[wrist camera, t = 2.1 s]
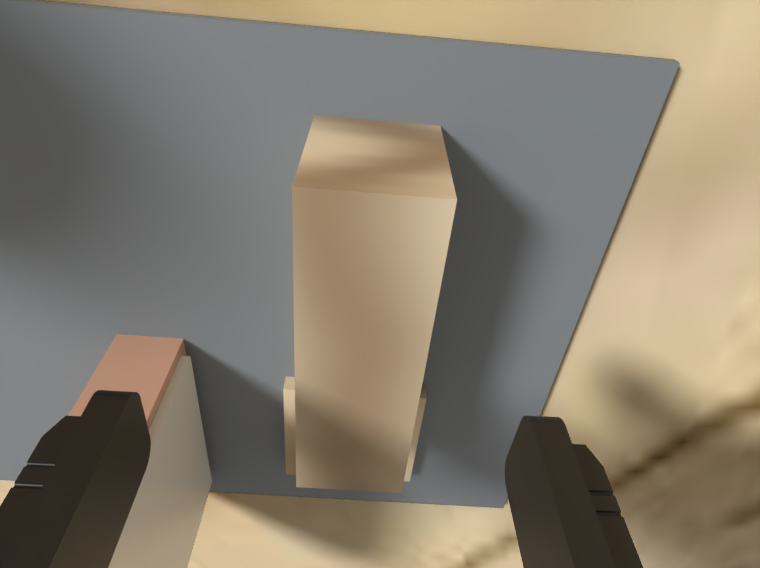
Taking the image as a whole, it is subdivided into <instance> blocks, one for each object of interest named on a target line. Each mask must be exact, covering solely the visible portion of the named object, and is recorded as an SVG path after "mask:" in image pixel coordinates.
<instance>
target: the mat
mask: <svg viewBox="0 0 760 568" xmlns="http://www.w3.org/2000/svg"><path fill="white" fill-rule="evenodd" d="M679 64H680V63H679V62H678V61H676V60H674V59H664V58H653V57H642V56H632V55H621V54H610V53H599V52H589V51H578V50H567V49H556V48H546V47H535V46H524V45H514V44H503V43H492V42H481V41H471V40H460V39H449V38H438V37H428V36H417V35H406V34H396V33H385V32H374V31H363V30H353V29H342V28H331V27H320V26H310V25H299V24H288V23H278V22H267V21H256V20H245V19H235V18H224V17H213V16H202V15H192V14H181V13H170V12H160V11H149V10H138V9H127V8H117V7H106V6H95V5H84V4H74V3H63V2H52V1H42V0H0V480H11V481H16V479H17V478H18V476H19V474H20V472H21V471H22V469H23V467H26V465H27V461H28V459H29V457H30V456H31V454H32V452H33V451H34V449H35V447H36V446H37V444H38V442H39V441H40V439H41V437H42V436H43V435H44V434H45V433H46V432H48V431H49V430H50V429H51V428H52V427H53V426H54V425H55V424H57V423H58V422H59V421H60V420H61V419H62V418H63V417H65V416H68V415H69V413H70V411H71V410H72V408H73V406H74V405H75V403H76V401H77V400H78V398H79V396H80V395H81V393H82V391H83V390H84V388H85V386H86V385H87V383H88V381H89V380H90V378H91V376H92V375H93V373H94V371H95V370H96V368H97V366H98V365H99V363H100V361H101V360H102V358H103V356H104V355H105V353H106V351H107V350H108V348H109V346H110V345H111V343H112V341H113V340H114V338H115V336H116V335H117V334H122V335H137V336H152V337H167V338H181V339H184V345H185V351H186V356H190V357H191V362H192V368H193V374H194V380H195V386H196V391H197V397H198V403H199V409H200V414H201V420H202V426H203V432H204V438H205V443H206V449H207V455H208V461H209V467H210V472H211V478H212V484H211V487H210V490H209V492H225V493H243V494H261V495H279V496H297V497H314V498H332V499H350V500H368V501H386V502H404V503H421V504H439V505H457V506H475V507H493V508H503V507H504V505H505V502H506V500H507V497H508V494H507V490H506V484H505V462H506V458H507V455H508V452H509V450H510V447H511V445H512V442H513V439H514V437H515V434H516V432H517V429H518V427H519V424H520V422H521V419H522V418H523V417H524V416H540V414H541V412H542V409H543V407H544V404H545V402H546V399H547V397H548V394H549V392H550V389H551V387H552V384H553V381H554V379H555V376H556V374H557V371H558V369H559V366H560V364H561V361H562V359H563V356H564V354H565V351H566V349H567V346H568V344H569V341H570V339H571V336H572V334H573V331H574V329H575V326H576V324H577V321H578V319H579V316H580V313H581V311H582V308H583V306H584V303H585V301H586V298H587V296H588V293H589V291H590V288H591V286H592V283H593V281H594V278H595V276H596V273H597V271H598V268H599V266H600V263H601V261H602V258H603V256H604V253H605V250H606V248H607V245H608V243H609V240H610V238H611V235H612V233H613V230H614V228H615V225H616V223H617V220H618V218H619V215H620V213H621V210H622V208H623V205H624V203H625V200H626V198H627V195H628V193H629V190H630V187H631V185H632V182H633V180H634V177H635V175H636V172H637V170H638V167H639V165H640V162H641V160H642V157H643V155H644V152H645V150H646V147H647V145H648V142H649V140H650V137H651V135H652V132H653V130H654V127H655V124H656V122H657V119H658V117H659V114H660V112H661V109H662V107H663V104H664V102H665V99H666V97H667V94H668V92H669V89H670V87H671V84H672V82H673V79H674V77H675V74H676V72H677V69H678V67H679ZM314 115H321V116H333V117H344V118H356V119H368V120H379V121H391V122H402V123H414V124H426V125H437V126H441V130H442V135H443V139H444V143H445V148H446V152H447V157H448V161H449V166H450V170H451V175H452V179H453V184H454V188H455V192H456V197H457V203H456V209H455V214H454V219H453V224H452V230H451V235H450V240H449V246H448V251H447V256H446V261H445V267H444V272H443V277H442V283H441V288H440V293H439V298H438V304H437V309H436V314H435V320H434V325H433V330H432V335H431V341H430V346H429V351H428V357H427V362H426V367H425V372H424V378H423V383H422V385H424V386H426V398H427V399H426V404H425V408H424V413H423V418H422V423H421V428H420V433H419V438H418V443H417V448H416V453H415V458H414V463H413V468H412V473H411V478H410V482H409V481H404V483H403V489H402V493H392V492H374V491H357V490H339V489H321V488H304V487H296V475H288V474H286V459H285V428H284V398H283V388H284V383H285V378H286V376H287V377H295V364H294V294H293V223H292V185H293V182H294V178H295V175H296V172H297V169H298V166H299V162H300V159H301V156H302V153H303V150H304V146H305V143H306V140H307V137H308V134H309V130H310V127H311V124H312V121H313V117H314Z"/></svg>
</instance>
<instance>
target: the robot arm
mask: <svg viewBox="0 0 760 568" xmlns="http://www.w3.org/2000/svg"><path fill="white" fill-rule="evenodd" d="M150 450H151V439H150V434H149V430H148V426H147V422H146V418H145V414H144V409H143V405H142V401H141V397H140V395H139V393H137V392H127V391H109V390H98V391H96V392H95V393H94V394H93V395H92V397H91V399H90V400H89V402H88V404H87V406H86V408H85V409H84V411H83V413H82V415H81V416H65V417H63V418H62V419H61V420H60V421H59V422H58V423H57V424H55V425H54V426H53V427H52V428H51V429H50V430H49V431H48V432H46V433H45V434H44V435H43V436H42V437H41V439H40V441H39V442H38V444H37V446H36V447H35V449H34V451H33V452H32V454H31V456H30V457H29V459H28V461H27V465H26V467H23V469H22V471H21V472H20V474H19V476H18V478H17V479H16V481H15V486H14V487H13V488H11V489H10V491H9V493H8V494H7V496H6V498H5V499H4V501H3V503H2V504H1V506H0V568H108V567H109V564H110V562H111V559H112V557H113V554H114V551H115V549H116V546H117V544H118V541H119V539H120V536H121V533H122V531H123V528H124V526H125V523H126V520H127V518H128V515H129V513H130V510H131V507H132V505H133V502H134V500H135V497H136V494H137V492H138V489H139V487H140V484H141V481H142V479H143V476H144V474H145V471H146V468H147V465H148V461H149V457H150ZM505 484H506V490H507V494H508V499H509V503H510V508H511V512H512V517H513V521H514V526H515V530H516V535H517V539H518V544H519V548H520V553H521V557H522V562H523V567H524V568H643V566H642V564H641V561H640V559H639V556H638V554H637V551H636V548H635V546H634V543H633V541H632V538H631V536H630V533H629V531H628V528H627V526H626V523H625V521H624V518H623V517H621V511H620V508H619V505H618V503H617V500H616V498H615V496H613V490H612V488H611V485H610V483H609V480H608V478H607V475H606V473H605V470H604V467H603V466H602V465H601V463H600V462H599V461H598V460H597V459H596V457H595V456H594V455H593V454H592V452H591V451H590V450H589V449H588V448H587V446H586V445H579V444H572V443H571V440H570V437H569V434H568V432H567V429H566V426H565V424H564V422H563V420H562V419H561V418H558V417H542V416H524V417H523V418H522V419H521V422H520V424H519V427H518V429H517V432H516V434H515V437H514V439H513V442H512V445H511V447H510V450H509V452H508V455H507V458H506V462H505Z"/></svg>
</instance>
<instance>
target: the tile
mask: <svg viewBox="0 0 760 568" xmlns="http://www.w3.org/2000/svg"><path fill="white" fill-rule="evenodd" d="M98 390H109V391H127V392H137V393H139V395H140V397H141V401H142V405H143V409H144V414H145V418H146V422H147V426H148V430H149V434H150V439H151V450H150V457H149V461H148V465H147V468H146V471H145V474H144V476H143V479H142V481H141V484H140V487H139V489H138V492H137V494H136V497H135V500H134V502H133V505H132V507H131V510H130V513H129V515H128V518H127V520H126V523H125V526H124V528H123V531H122V533H121V536H120V539H119V541H118V544H117V546H116V549H115V551H114V554H113V557H112V559H111V562H110V564H109V567H108V568H187V566H188V562H189V559H190V556H191V552H192V549H193V545H194V542H195V538H196V535H197V532H198V528H199V525H200V521H201V518H202V514H203V511H204V508H205V504H206V501H207V497H208V494H209V490H210V487H211V484H212V478H211V472H210V467H209V461H208V455H207V449H206V443H205V438H204V432H203V426H202V420H201V414H200V409H199V403H198V397H197V391H196V386H195V380H194V374H193V368H192V362H191V357H190V356H186V351H185V345H184V339H181V338H167V337H152V336H137V335H122V334H117V335H116V336H115V338H114V340H113V341H112V343H111V345H110V346H109V348H108V350H107V351H106V353H105V355H104V356H103V358H102V360H101V361H100V363H99V365H98V366H97V368H96V370H95V371H94V373H93V375H92V376H91V378H90V380H89V381H88V383H87V385H86V386H85V388H84V390H83V391H82V393H81V395H80V396H79V398H78V400H77V401H76V403H75V405H74V406H73V408H72V410H71V411H70V413H69V415H68V416H81V415H82V413H83V411H84V409H85V408H86V406H87V404H88V402H89V400H90V399H91V397H92V395H93V394H94V393H95V392H96V391H98Z"/></svg>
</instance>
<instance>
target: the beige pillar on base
mask: <svg viewBox="0 0 760 568" xmlns="http://www.w3.org/2000/svg"><path fill="white" fill-rule="evenodd" d="M456 203H457V197H456V192H455V188H454V184H453V179H452V175H451V170H450V166H449V161H448V157H447V152H446V148H445V143H444V139H443V135H442V130H441V126H437V125H426V124H414V123H402V122H391V121H379V120H368V119H356V118H344V117H333V116H321V115H314V117H313V121H312V124H311V127H310V130H309V134H308V137H307V140H306V143H305V146H304V150H303V153H302V156H301V159H300V162H299V166H298V169H297V172H296V175H295V178H294V182H293V185H292V223H293V294H294V364H295V377H287V376H286V378H285V383H284V388H283V398H284V428H285V459H286V474H288V475H296V487H304V488H321V489H339V490H357V491H374V492H392V493H402V489H403V483H404V481H409V482H410V478H411V473H412V468H413V463H414V458H415V453H416V448H417V443H418V438H419V433H420V428H421V423H422V418H423V413H424V408H425V404H426V399H427V398H426V386H424V385H422V383H423V378H424V372H425V367H426V362H427V357H428V351H429V346H430V341H431V335H432V330H433V325H434V320H435V314H436V309H437V304H438V298H439V293H440V288H441V283H442V277H443V272H444V267H445V261H446V256H447V251H448V246H449V240H450V235H451V230H452V224H453V219H454V214H455V209H456Z"/></svg>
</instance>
